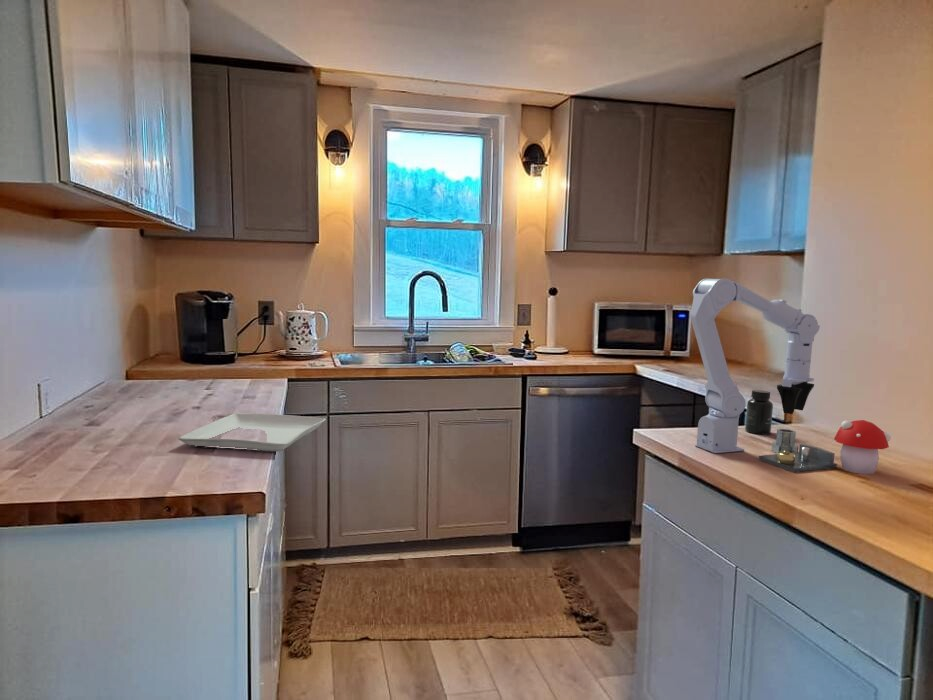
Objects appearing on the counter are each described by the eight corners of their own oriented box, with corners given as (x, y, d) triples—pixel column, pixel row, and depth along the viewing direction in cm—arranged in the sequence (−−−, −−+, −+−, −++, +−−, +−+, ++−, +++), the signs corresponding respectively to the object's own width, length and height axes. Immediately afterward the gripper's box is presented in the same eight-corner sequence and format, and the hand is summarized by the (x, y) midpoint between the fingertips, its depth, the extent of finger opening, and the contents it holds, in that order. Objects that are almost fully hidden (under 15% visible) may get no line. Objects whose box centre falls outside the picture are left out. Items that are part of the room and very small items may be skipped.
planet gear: (785, 455, 158) (786, 434, 157) (766, 449, 164) (768, 428, 163) (803, 454, 160) (805, 432, 159) (784, 447, 166) (785, 427, 165)
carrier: (794, 472, 144) (795, 455, 143) (758, 459, 154) (759, 443, 153) (837, 467, 148) (838, 451, 148) (799, 455, 158) (801, 440, 158)
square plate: (233, 425, 177) (233, 411, 176) (327, 430, 173) (327, 416, 173) (176, 451, 150) (176, 435, 150) (285, 458, 146) (285, 442, 146)
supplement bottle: (773, 435, 179) (777, 394, 178) (747, 433, 180) (751, 392, 179) (767, 430, 186) (770, 389, 184) (742, 428, 187) (745, 388, 186)
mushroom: (878, 466, 151) (883, 417, 149) (892, 480, 140) (898, 427, 139) (828, 461, 154) (832, 413, 153) (838, 474, 144) (843, 422, 142)
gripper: (805, 363, 155) (800, 417, 156) (824, 359, 165) (818, 410, 167) (775, 360, 160) (770, 412, 161) (795, 356, 170) (790, 406, 172)
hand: (793, 411), depth 164 cm, fingers open, 7 cm apart
